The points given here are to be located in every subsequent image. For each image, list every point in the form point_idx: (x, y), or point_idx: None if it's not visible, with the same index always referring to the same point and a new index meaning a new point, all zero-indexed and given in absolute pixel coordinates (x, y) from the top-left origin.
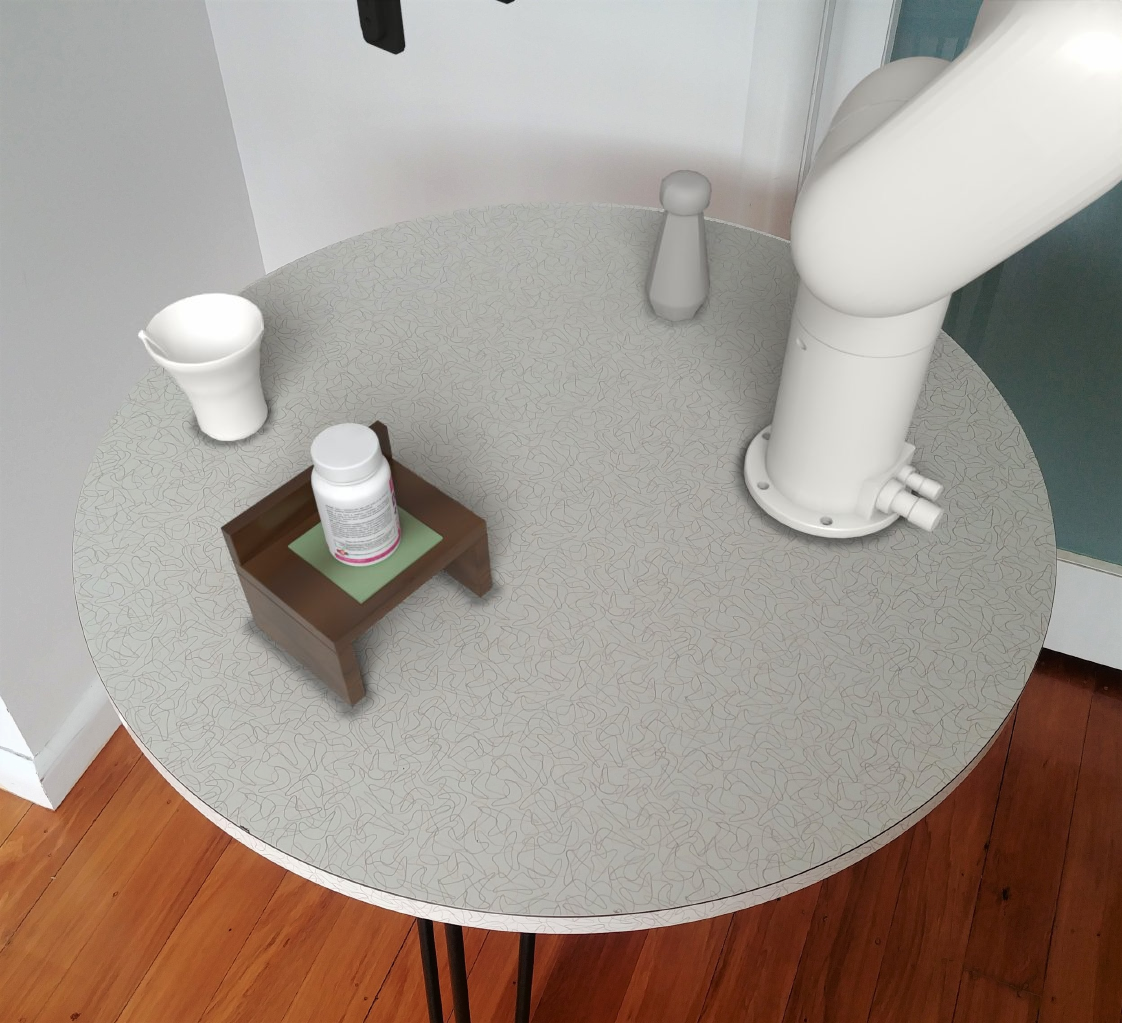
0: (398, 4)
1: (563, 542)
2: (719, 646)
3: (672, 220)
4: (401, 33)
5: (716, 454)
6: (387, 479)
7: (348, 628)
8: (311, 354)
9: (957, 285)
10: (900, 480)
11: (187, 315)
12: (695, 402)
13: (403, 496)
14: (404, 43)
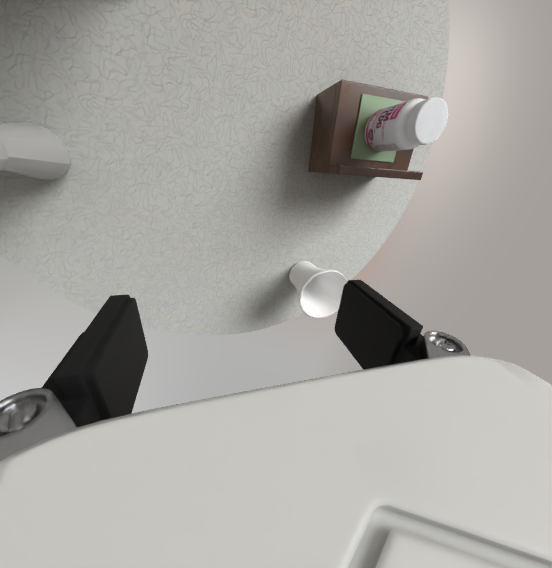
0: (390, 310)
1: (273, 78)
2: None
3: (7, 150)
4: (364, 289)
5: (147, 20)
6: (412, 100)
7: (420, 96)
8: (253, 284)
9: None
10: None
11: (315, 311)
12: (118, 71)
13: (347, 138)
14: (350, 285)
